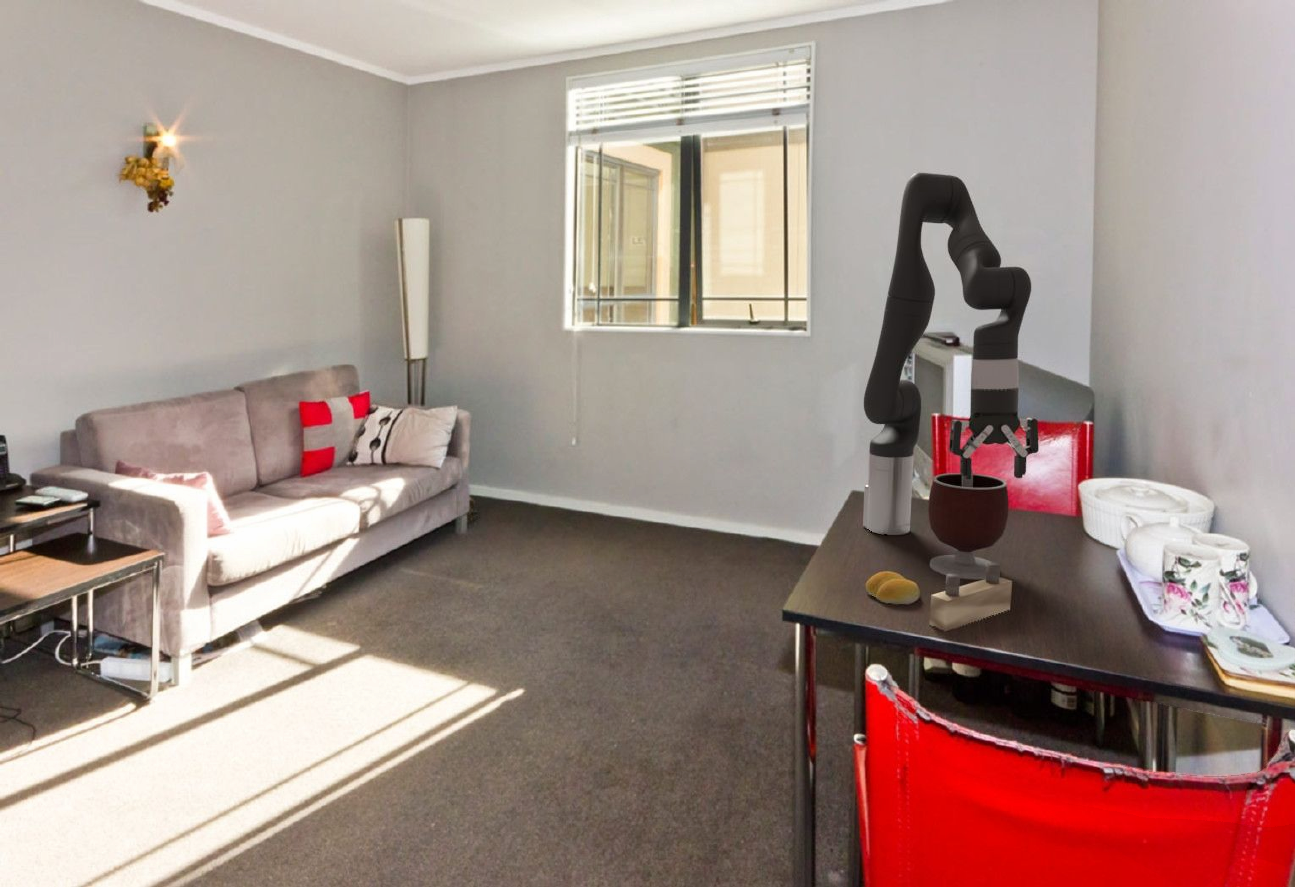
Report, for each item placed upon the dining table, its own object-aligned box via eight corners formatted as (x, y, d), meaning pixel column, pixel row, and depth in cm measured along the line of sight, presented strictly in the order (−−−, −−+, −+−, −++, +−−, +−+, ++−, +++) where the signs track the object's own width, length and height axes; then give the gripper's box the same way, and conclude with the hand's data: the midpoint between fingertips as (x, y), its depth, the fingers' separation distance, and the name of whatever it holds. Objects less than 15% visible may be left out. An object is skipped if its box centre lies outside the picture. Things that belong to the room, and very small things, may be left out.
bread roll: (890, 609, 132) (891, 586, 131) (858, 591, 140) (859, 570, 139) (931, 602, 134) (932, 580, 134) (897, 585, 143) (898, 564, 142)
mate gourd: (1008, 584, 142) (1016, 475, 139) (926, 576, 146) (932, 470, 143) (998, 557, 157) (1005, 458, 153) (923, 551, 161) (929, 454, 157)
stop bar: (929, 625, 124) (932, 576, 123) (993, 604, 133) (996, 558, 131) (945, 631, 122) (948, 582, 121) (1010, 610, 130) (1013, 563, 129)
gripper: (1029, 382, 139) (1027, 473, 141) (946, 385, 141) (944, 475, 143) (1046, 385, 132) (1043, 481, 134) (957, 388, 133) (956, 482, 136)
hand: (992, 478), depth 139 cm, fingers open, 8 cm apart
